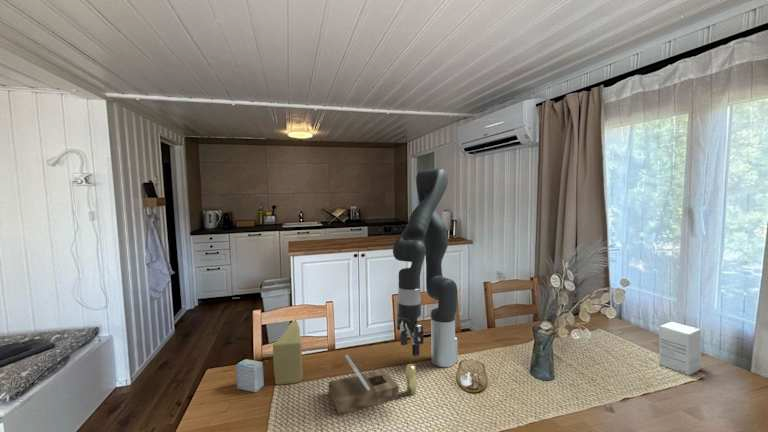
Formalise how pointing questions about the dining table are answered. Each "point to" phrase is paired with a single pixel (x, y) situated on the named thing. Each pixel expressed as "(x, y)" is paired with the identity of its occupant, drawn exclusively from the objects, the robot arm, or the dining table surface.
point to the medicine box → (249, 375)
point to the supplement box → (680, 347)
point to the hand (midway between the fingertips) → (409, 349)
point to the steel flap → (357, 372)
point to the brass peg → (411, 379)
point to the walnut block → (362, 391)
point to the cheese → (288, 356)
